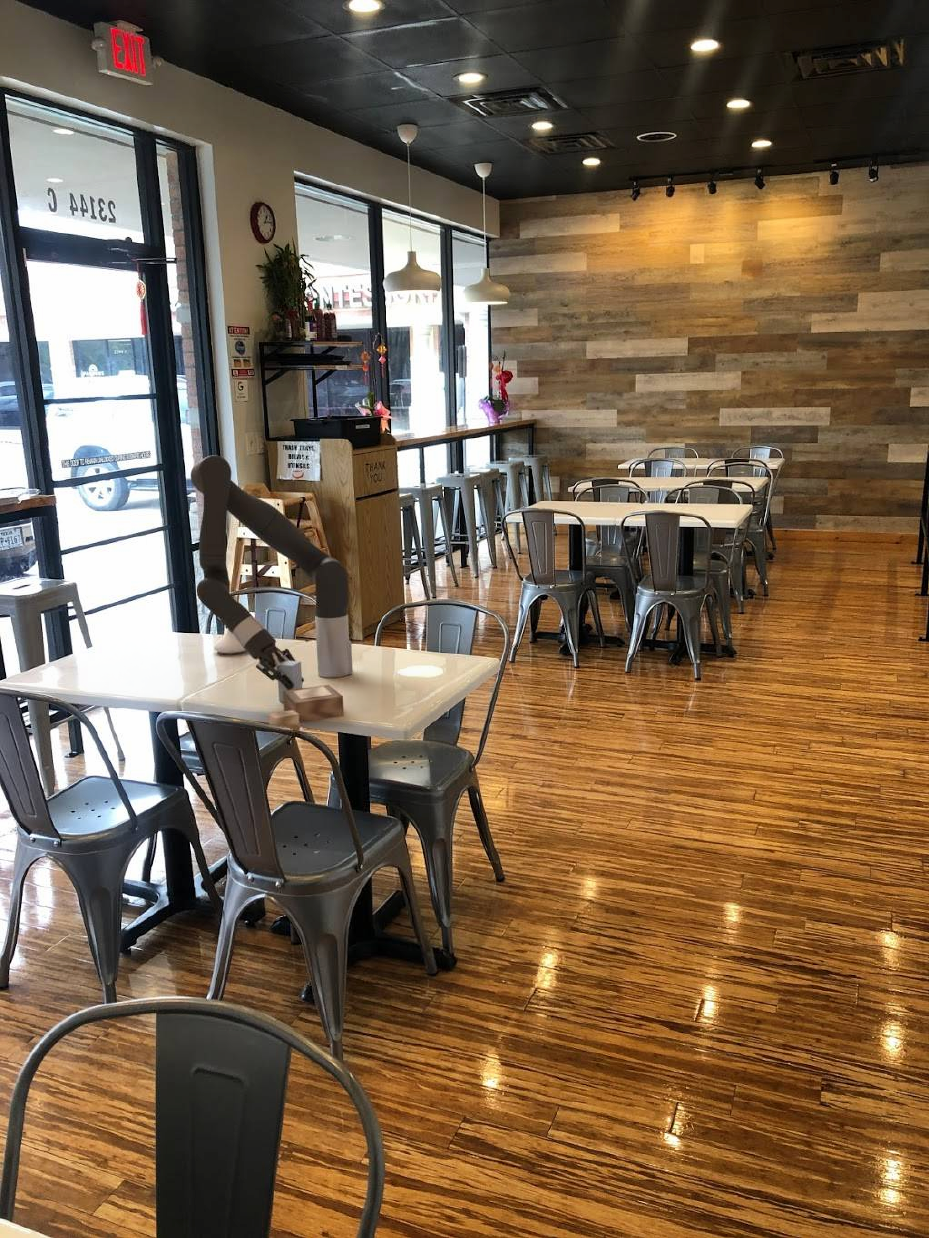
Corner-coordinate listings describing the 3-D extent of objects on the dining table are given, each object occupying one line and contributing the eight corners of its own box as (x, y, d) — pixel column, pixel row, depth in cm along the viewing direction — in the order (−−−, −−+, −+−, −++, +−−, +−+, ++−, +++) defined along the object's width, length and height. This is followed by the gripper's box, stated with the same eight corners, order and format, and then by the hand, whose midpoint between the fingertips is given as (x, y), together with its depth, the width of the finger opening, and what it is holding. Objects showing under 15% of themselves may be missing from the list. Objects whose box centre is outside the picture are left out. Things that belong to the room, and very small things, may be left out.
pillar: (288, 696, 278) (285, 660, 276) (303, 698, 276) (300, 661, 274) (279, 701, 274) (277, 664, 272) (294, 702, 272) (292, 665, 270)
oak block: (293, 725, 254) (292, 709, 253) (299, 730, 250) (298, 714, 249) (269, 730, 251) (268, 714, 250) (275, 734, 247) (274, 718, 246)
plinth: (329, 703, 271) (328, 683, 270) (343, 715, 260) (342, 695, 259) (284, 709, 266) (282, 690, 265) (296, 722, 256) (295, 702, 255)
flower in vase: (253, 647, 335) (248, 569, 330) (248, 655, 324) (243, 575, 319) (212, 648, 335) (206, 571, 329) (205, 657, 323) (199, 577, 318)
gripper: (247, 634, 267) (291, 683, 266) (276, 622, 280) (318, 669, 279) (230, 653, 270) (274, 701, 268) (260, 640, 283) (302, 687, 282)
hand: (296, 685), depth 274 cm, fingers closed on pillar, 4 cm apart
